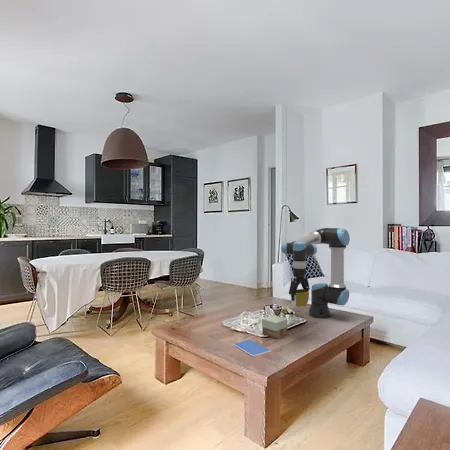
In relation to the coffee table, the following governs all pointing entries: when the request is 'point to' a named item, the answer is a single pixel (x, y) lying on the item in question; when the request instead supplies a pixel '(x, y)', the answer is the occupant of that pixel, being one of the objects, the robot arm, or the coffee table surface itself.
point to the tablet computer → (252, 348)
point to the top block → (274, 323)
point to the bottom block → (274, 332)
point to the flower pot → (301, 297)
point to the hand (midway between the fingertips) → (299, 303)
